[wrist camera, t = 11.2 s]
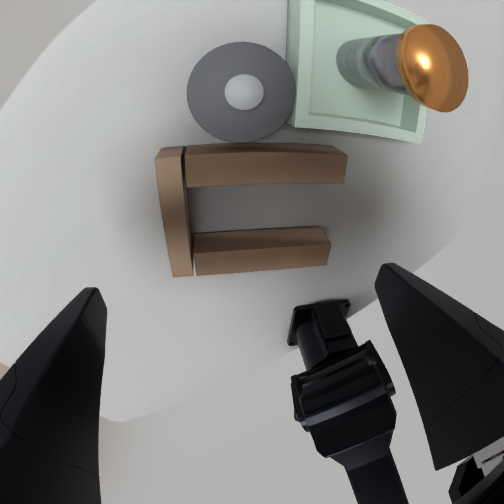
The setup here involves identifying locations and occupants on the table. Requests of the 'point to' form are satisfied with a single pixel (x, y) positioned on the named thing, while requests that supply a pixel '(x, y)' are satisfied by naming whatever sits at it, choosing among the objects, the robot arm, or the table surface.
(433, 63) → the pin
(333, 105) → the tray
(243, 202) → the table surface
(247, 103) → the pulley
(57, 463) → the robot arm
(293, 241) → the brown u-shaped piece
